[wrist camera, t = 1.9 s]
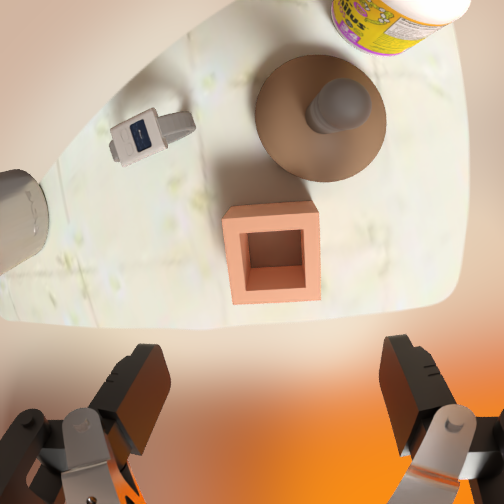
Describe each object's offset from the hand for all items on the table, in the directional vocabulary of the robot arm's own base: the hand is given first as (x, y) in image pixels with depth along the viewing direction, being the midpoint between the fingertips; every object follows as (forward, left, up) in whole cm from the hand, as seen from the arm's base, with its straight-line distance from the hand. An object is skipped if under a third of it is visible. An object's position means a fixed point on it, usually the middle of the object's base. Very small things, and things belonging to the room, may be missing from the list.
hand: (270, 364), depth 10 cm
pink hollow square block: (0, 0, -14) cm, 14 cm away
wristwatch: (-8, +9, -15) cm, 19 cm away
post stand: (+4, +9, -14) cm, 17 cm away
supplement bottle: (+9, +17, -15) cm, 24 cm away
